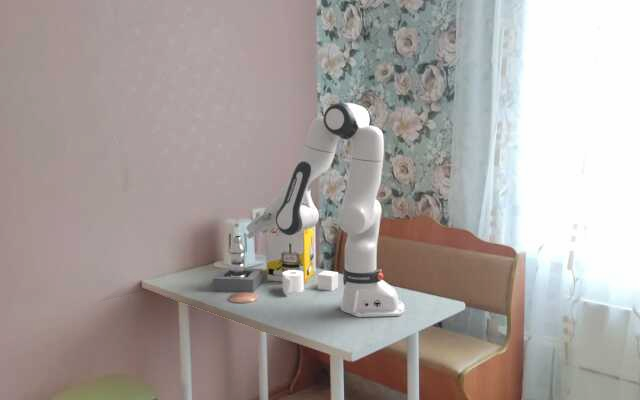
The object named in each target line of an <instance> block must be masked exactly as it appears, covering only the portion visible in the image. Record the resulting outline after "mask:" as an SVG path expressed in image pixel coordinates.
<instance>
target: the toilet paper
mask: <svg viewBox="0 0 640 400" xmlns="http://www.w3.org/2000/svg"><path fill="white" fill-rule="evenodd" d="M304 284H305V283H304V281H303V272H302V271H299V270H288V271H284V272H283V273H282V292H283V294H284V295H285V296H286V297H288V295H289V294H298V293H302V292H304V287H305V286H304Z"/></svg>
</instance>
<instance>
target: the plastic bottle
mask: <svg viewBox="0 0 640 400" xmlns="http://www.w3.org/2000/svg"><path fill="white" fill-rule="evenodd" d="M242 239H243V237H242V236H241V235H234V236H232V241H231V242H232V243H231V245H230V246H229V249H228V250H229V256H230V264H231V265H230V268H231V276H230V277H246V274H245V268H246V266H245V260H246V259H245V258H246V257H245V256H246V248H245V246H244V244H243V242H242V241H243V240H242Z"/></svg>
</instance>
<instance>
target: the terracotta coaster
mask: <svg viewBox="0 0 640 400" xmlns="http://www.w3.org/2000/svg"><path fill="white" fill-rule="evenodd" d="M258 299H259V295H258V294H257V293H254V292H235V293H232V294H231V295H229V296H228V301H229V302H231V303H232V304H233V303H234V304H248V303H254V302H255V301H257V300H258Z"/></svg>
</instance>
